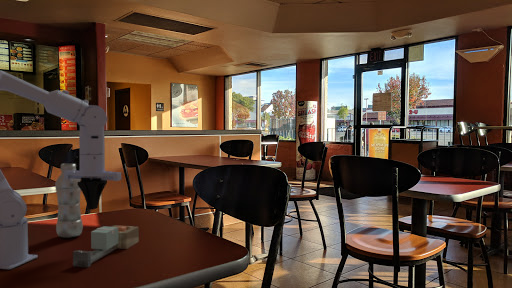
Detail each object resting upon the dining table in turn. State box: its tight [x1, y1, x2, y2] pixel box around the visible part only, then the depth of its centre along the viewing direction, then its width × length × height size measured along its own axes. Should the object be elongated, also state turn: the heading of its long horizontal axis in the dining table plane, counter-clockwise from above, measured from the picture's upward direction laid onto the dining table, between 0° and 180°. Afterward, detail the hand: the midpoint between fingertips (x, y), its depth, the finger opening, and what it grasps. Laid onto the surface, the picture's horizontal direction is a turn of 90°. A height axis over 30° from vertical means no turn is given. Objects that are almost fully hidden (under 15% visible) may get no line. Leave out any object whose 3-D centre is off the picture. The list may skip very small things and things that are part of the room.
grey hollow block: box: [111, 224, 140, 250], centre depth 99 cm, size 7×6×4 cm
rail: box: [72, 244, 119, 268], centre depth 89 cm, size 4×13×3 cm, turn 169°
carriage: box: [90, 225, 118, 250], centre depth 92 cm, size 4×5×4 cm
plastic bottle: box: [54, 162, 84, 239], centre depth 104 cm, size 6×7×20 cm
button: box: [116, 225, 127, 232], centre depth 99 cm, size 3×3×4 cm
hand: (92, 208), depth 95 cm, fingers closed
